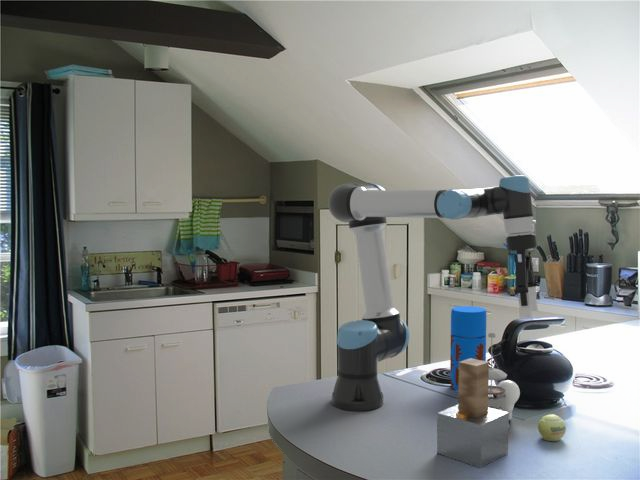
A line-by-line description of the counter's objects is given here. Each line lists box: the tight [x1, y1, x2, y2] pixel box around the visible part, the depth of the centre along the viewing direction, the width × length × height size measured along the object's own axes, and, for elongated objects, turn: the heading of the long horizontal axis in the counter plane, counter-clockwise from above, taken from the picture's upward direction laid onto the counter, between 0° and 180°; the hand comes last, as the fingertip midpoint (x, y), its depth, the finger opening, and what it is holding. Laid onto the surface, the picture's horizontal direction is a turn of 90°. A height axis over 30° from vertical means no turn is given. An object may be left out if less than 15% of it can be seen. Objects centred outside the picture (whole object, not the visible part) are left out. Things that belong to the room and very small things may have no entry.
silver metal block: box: [436, 404, 510, 468], centre depth 167 cm, size 12×12×11 cm
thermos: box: [449, 305, 488, 392], centre depth 218 cm, size 11×11×25 cm
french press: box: [487, 332, 511, 429], centre depth 186 cm, size 10×12×25 cm
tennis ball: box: [537, 413, 567, 442], centre depth 176 cm, size 6×7×7 cm
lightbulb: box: [496, 379, 521, 421], centre depth 190 cm, size 6×6×11 cm
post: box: [457, 358, 490, 418], centre depth 166 cm, size 5×5×22 cm
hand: (529, 314), depth 184 cm, fingers open, 13 cm apart
